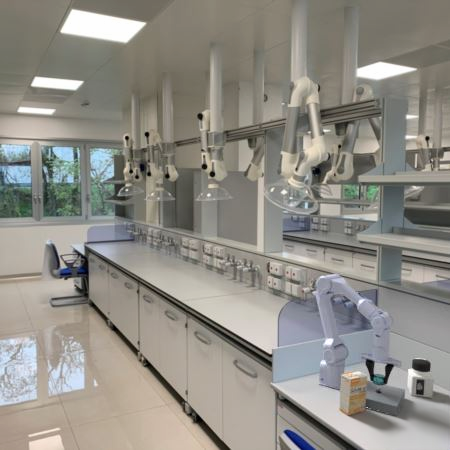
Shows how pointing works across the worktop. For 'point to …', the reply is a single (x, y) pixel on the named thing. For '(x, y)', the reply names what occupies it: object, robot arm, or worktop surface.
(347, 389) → the supplement box
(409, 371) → the container
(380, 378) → the plunger
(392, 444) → the worktop surface
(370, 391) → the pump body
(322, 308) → the robot arm
